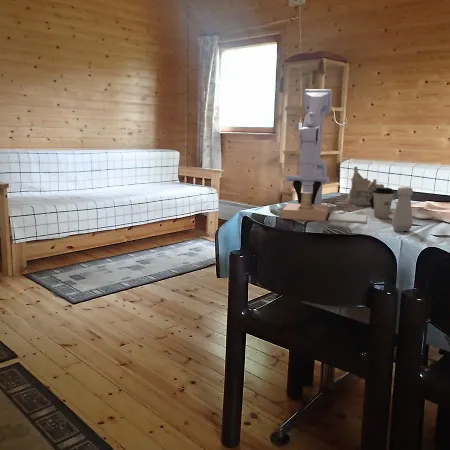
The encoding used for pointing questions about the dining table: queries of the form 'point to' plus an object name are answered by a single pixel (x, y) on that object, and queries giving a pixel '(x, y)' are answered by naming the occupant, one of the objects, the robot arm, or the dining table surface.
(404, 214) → the salt shaker
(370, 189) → the ceramic cottage
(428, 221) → the dining table surface
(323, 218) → the square board with hole
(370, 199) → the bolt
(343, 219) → the mat
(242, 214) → the dining table surface
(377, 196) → the coffee cup
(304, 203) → the plug
